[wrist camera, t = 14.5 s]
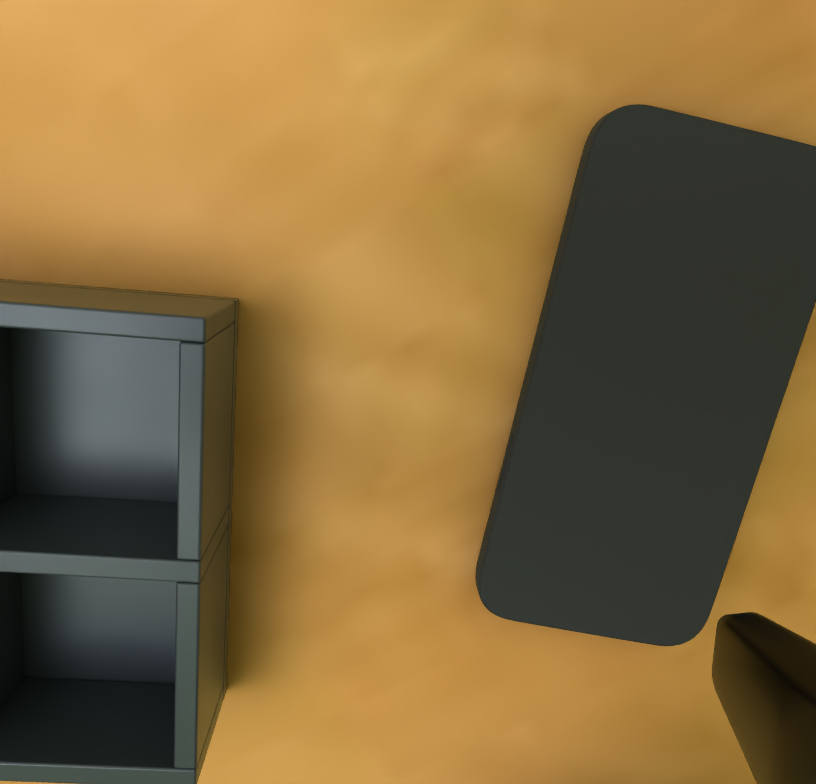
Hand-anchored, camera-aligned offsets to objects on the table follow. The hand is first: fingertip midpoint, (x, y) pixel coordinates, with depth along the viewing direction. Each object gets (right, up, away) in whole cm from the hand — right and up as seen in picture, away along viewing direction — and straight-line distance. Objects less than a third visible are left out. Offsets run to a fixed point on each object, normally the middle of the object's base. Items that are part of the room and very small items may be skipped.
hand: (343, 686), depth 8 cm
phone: (+8, +3, +13) cm, 15 cm away
